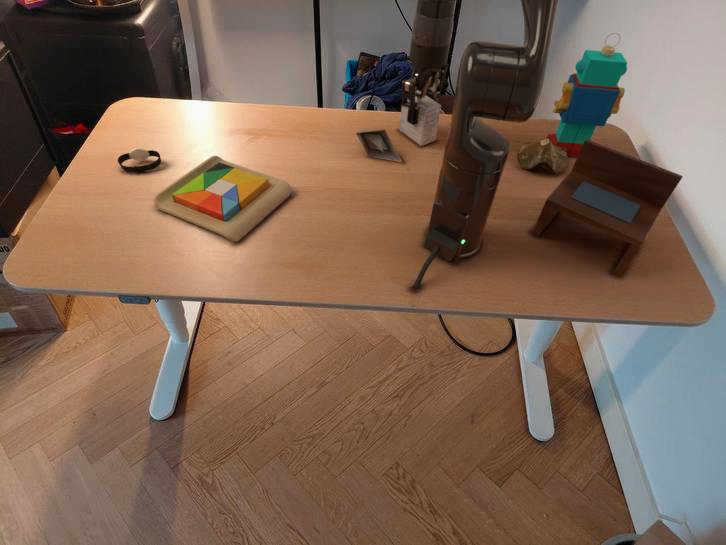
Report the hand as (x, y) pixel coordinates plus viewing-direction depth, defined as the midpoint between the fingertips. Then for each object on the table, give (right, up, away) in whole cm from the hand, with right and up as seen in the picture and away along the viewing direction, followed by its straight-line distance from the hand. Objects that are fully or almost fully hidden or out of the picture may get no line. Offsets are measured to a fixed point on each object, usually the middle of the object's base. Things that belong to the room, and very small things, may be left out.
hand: (419, 117), depth 103 cm
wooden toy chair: (+28, -27, -17) cm, 43 cm away
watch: (-56, -13, -9) cm, 58 cm away
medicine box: (0, -3, +3) cm, 5 cm away
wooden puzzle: (-38, -20, -15) cm, 45 cm away
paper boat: (-10, -9, -3) cm, 14 cm away
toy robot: (+33, -7, +2) cm, 34 cm away
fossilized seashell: (+25, -11, -2) cm, 28 cm away
